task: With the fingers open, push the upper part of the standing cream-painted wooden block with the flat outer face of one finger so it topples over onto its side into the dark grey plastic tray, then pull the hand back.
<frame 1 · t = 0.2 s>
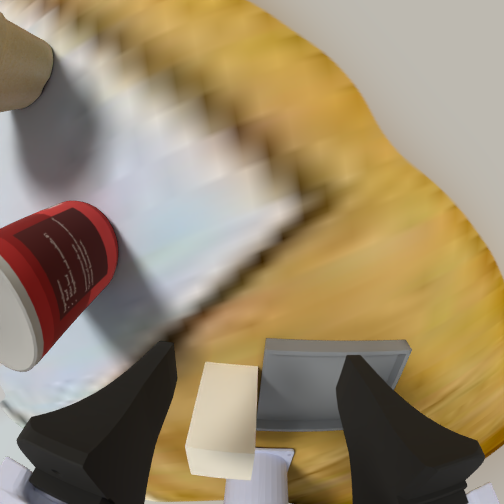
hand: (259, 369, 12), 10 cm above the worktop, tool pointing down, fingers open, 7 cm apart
cream block: (231, 382, 25), on the worktop
canned food: (82, 245, 21), on the worktop
tray: (325, 386, 25), on the worktop
flower pot: (30, 73, 16), on the worktop
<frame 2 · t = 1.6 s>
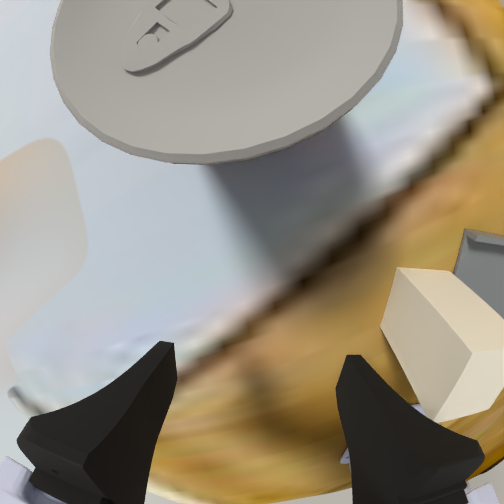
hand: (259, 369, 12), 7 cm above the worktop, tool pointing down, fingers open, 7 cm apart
cream block: (415, 299, 18), on the worktop
canned food: (245, 84, 14), on the worktop
tray: (494, 300, 18), on the worktop
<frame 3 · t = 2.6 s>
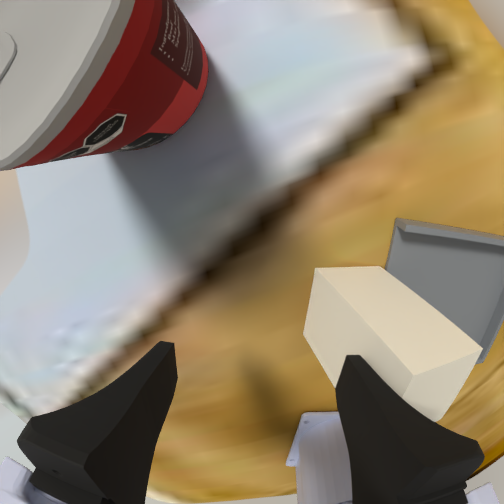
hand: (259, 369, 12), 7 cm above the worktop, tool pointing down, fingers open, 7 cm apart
cream block: (342, 300, 18), point 1 cm above the worktop, tilted 14°
canned food: (145, 84, 14), on the worktop
tray: (446, 300, 18), on the worktop
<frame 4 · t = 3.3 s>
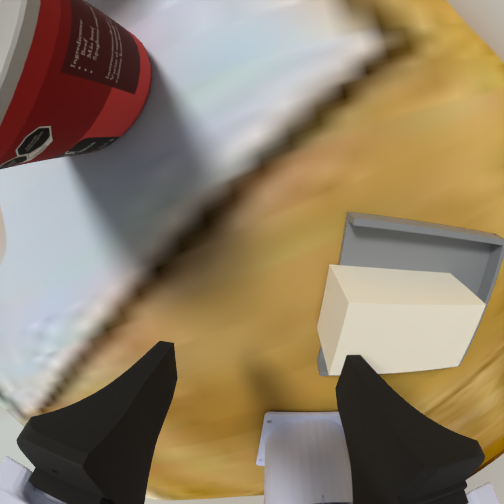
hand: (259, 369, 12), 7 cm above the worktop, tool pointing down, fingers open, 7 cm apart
cream block: (330, 317, 16), point 3 cm above the worktop, tilted 90°, touching tray
canned food: (99, 91, 14), on the worktop
tray: (412, 299, 18), on the worktop
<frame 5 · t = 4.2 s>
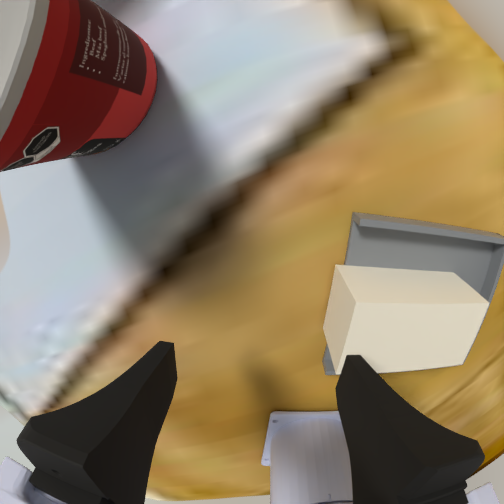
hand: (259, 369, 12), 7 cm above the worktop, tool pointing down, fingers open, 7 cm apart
cream block: (336, 317, 16), point 3 cm above the worktop, tilted 90°, touching tray
canned food: (104, 92, 14), on the worktop
tray: (417, 298, 18), on the worktop
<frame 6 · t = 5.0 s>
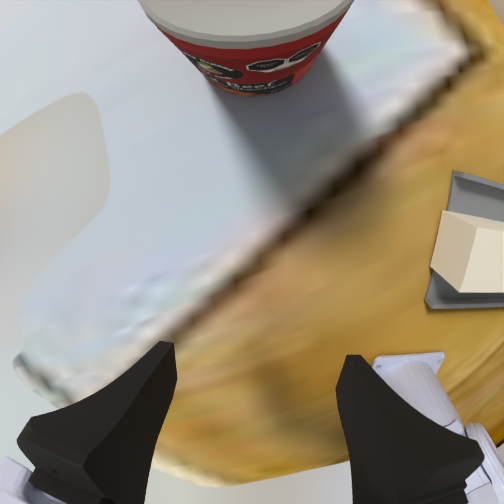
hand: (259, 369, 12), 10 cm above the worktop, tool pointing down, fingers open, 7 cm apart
cream block: (451, 248, 17), point 3 cm above the worktop, tilted 90°, touching tray
canned food: (255, 45, 16), on the worktop
tray: (489, 244, 20), on the worktop
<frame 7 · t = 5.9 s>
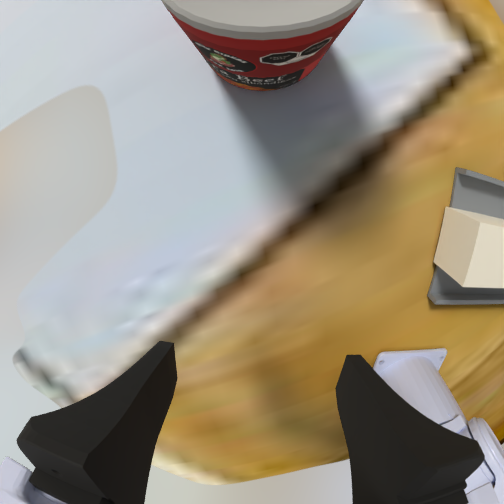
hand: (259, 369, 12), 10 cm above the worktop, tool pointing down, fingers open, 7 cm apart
cream block: (455, 244, 18), point 3 cm above the worktop, tilted 90°, touching tray
canned food: (264, 41, 16), on the worktop
tray: (491, 241, 20), on the worktop
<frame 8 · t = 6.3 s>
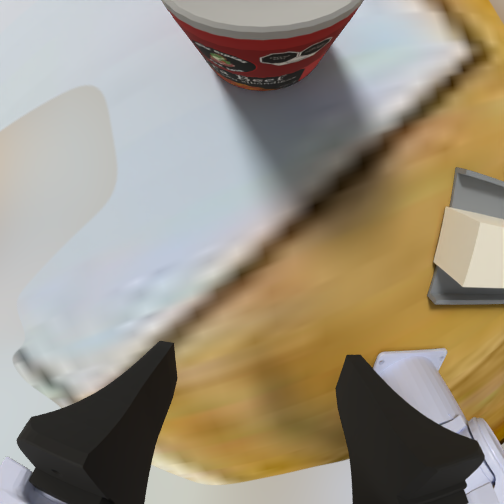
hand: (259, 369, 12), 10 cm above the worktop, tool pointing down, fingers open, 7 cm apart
cream block: (455, 244, 18), point 3 cm above the worktop, tilted 90°, touching tray
canned food: (264, 41, 16), on the worktop
tray: (491, 241, 20), on the worktop
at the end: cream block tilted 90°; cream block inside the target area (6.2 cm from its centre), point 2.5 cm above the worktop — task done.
